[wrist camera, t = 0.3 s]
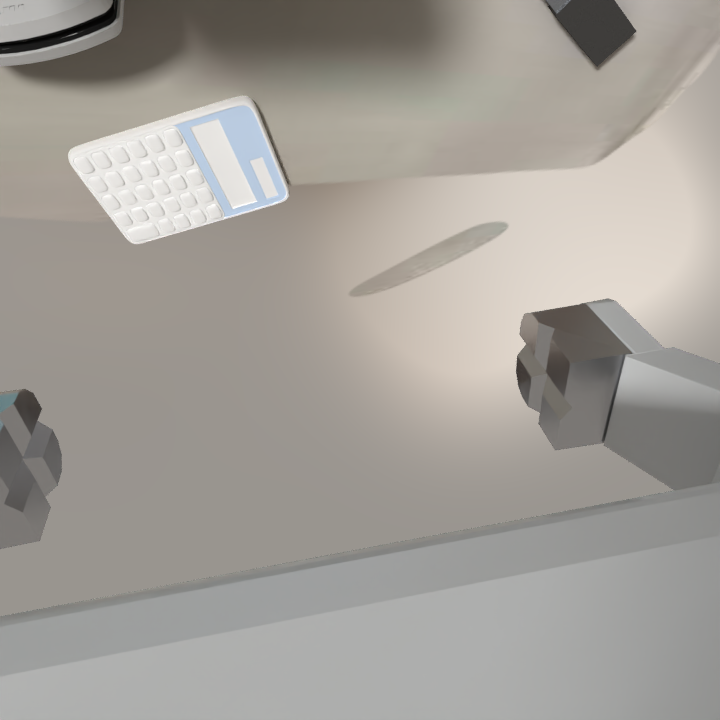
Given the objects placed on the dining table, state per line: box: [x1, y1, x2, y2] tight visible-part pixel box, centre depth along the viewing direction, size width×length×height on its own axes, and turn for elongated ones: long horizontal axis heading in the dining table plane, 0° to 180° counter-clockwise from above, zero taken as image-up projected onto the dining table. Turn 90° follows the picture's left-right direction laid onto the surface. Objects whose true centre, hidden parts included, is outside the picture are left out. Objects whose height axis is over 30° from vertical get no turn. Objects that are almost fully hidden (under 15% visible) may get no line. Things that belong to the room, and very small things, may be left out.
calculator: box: [68, 96, 289, 244], centre depth 65 cm, size 13×20×2 cm, turn 102°
